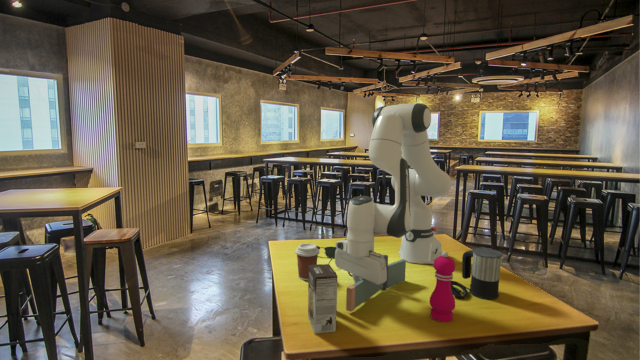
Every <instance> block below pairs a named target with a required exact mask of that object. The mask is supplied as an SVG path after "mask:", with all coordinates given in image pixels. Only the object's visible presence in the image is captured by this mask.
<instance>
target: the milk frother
mask: <svg viewBox="0 0 640 360" xmlns="http://www.w3.org/2000/svg"><path fill="white" fill-rule="evenodd" d="M502 257H503V253H502V252H500V251H498V250H496V249H492V248H487V247H486V248H485V247H477V248H473V249H470V250H466V251H465V252H463V255H462V264H461V272H462V273H461V277H462V278H463V279H465V280H466V279H470V278H471V279H470V285H469V288H468V287H467V286H465V285H463V284H462V283H460V282H459V281H455V280H451V291H452V294H453V296H454V297H457V298H461V299H465V298H467V297H469V293H470V294H471V295H473V296H475V297H477V298H480V299H484V300H496V299H498V298H499V296H500V294H499V291H500V289H499V288H500V287H499V286H500V285H499V284H500V276H501V267H502ZM468 290H469V291H468ZM462 291H463V292H464V293H462Z"/></svg>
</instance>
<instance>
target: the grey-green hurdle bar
mask: <svg viewBox="0 0 640 360" xmlns="http://www.w3.org/2000/svg"><path fill="white" fill-rule="evenodd" d="M382 288H383V283H382V284H380V285H377V284H375V283H373V282H370V281H368V280H366V279H362V280H360V281H358V282H357V283H355V282H354V284H349V285H348V286H346V298H345V299H346V302H345V306H346V307H345V310H346V311H347V312H349V313H351V312H353V311H355V309H357V307H359V306H360V305H362V304H363V303H365V302H366V301H368V300H369V299H370V298H372V297H373V296H374V295H376V294H377V293H378V292H381V291H382V290H381V289H382Z"/></svg>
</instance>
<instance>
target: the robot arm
mask: <svg viewBox="0 0 640 360" xmlns="http://www.w3.org/2000/svg"><path fill="white" fill-rule="evenodd" d="M431 122H432V112H431V109H430V108H429V106H428V105H427V104H424V103H419V102H417V103H399V104H392V105H382V106H379V107H378V108H376V109H375V111H374V112H373V114H372V117H371V123H372V127H373V128H372V132H371V136H370V140H369V146H368V157H369V161H370V162H371V163H372V165H374V166H375V167H376V168H378V169H380V170H381V171H384V172H385V173H388V174H389V175H390V176H391V180H390V181H391V186H392V189H393V190H394V204H393V205H390V204H381V203H376V202H374V199H373V198H372V197H371V196H367V195H359V196H353V198H351V199H349V203H348V207H347V215H346V226H347V234H346V238H345V239H342V240H338V241H336V242H335V244H334V245H335V246H334V247H336V248H337V249H336V251H335V258H334V264H335V267H337V268H338V269H340V270H343V271H345V272H347V273H348V272H349V273H350V274H351V275H352V279H353V282H354V284H355V283H357V282H358V281H360V280H362V279H366V280H368V281H370V282H373V283H375V284H377V285H380V284H382V283H384V282H385V281H386V280H387V271H386V261H385V259H384V257H383V256H382V255H383V254H381V253H377V252H375V235H374V233H376V234H381V235H388V236H389V237H393V238H396V239H400V238H401V242H400V250H398V253H397V254H398V255H399V258H400V260H402V259H404V260H406V262H408V263H412V264H421V265H423V264H428V265H434V261H435V259H436V258H437V257H440V256H442V253H443V252H444V251H443V250H442V242H441V241H440V240H439V239H438V238H437V237H436V236H435V235H434V234H435V233H436V232H437V229H438V227H437V226H432V222H433V211H432V207H430V205H428V204H427V203H425V202H424V201H423V199H422V196H423V197H430V198H431V197H432V198H436V197H437V198H438V197H446V196H447V195H448V193H450V191H451V188H452V179H451V177H450V175H449V174H448V173H447V172H445V171H444V170H442V169H441V168H440V167H439V166H438V165H437V164H436V162H435V160H434V158H433V156H432V154H431V149H430V142H429V136H428V131H427V130H428V129H429V128H430V126H431ZM409 167H411V168H409Z"/></svg>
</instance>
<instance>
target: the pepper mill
mask: <svg viewBox="0 0 640 360" xmlns="http://www.w3.org/2000/svg"><path fill="white" fill-rule="evenodd" d="M433 268H434V270H435V272H434V273H435V274H434V278H435V279H436V282H435V287H434V290H433V291H432V292H431V295H430V296H429V305H430V307H431V308H430V317H431V318H432V319H433V320H435V321H438V322H441V323H449V322H451V321H453V318H454V313H453V310H455V308H456V299H455V295H453V294H452V291H451V281H453V280H454V274H453V273H454V272H455V271H456V262H455V261H454V259H453V258H452V257H449V252H448V251H446V250H445V251H443V253H442V256H440V257H437V258H436V259H435V261H434V264H433Z"/></svg>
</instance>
